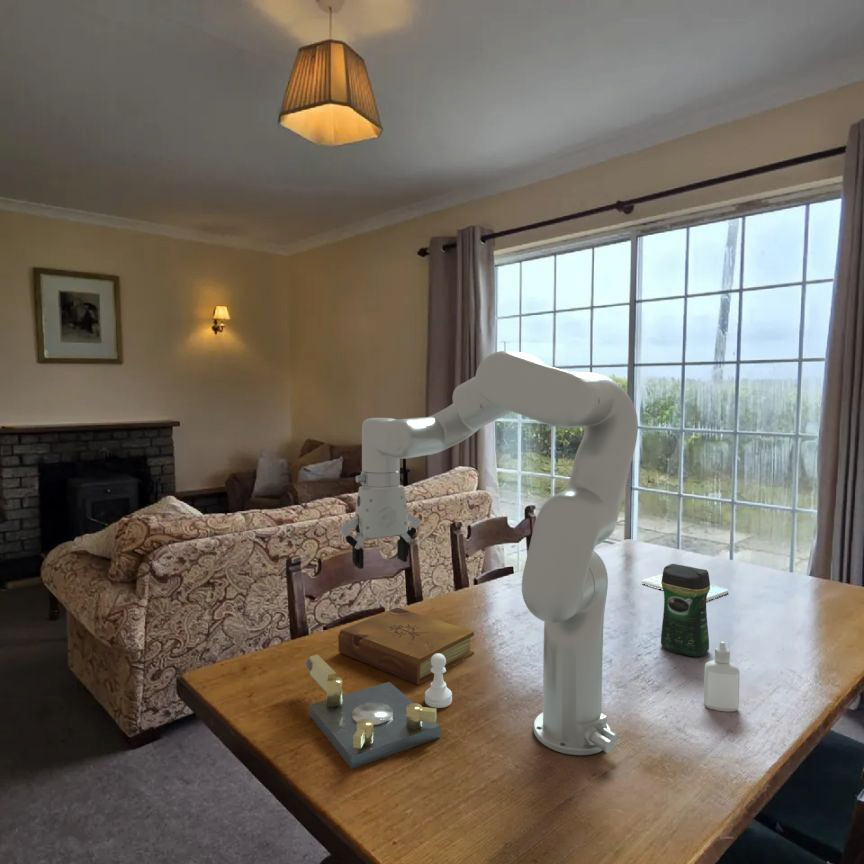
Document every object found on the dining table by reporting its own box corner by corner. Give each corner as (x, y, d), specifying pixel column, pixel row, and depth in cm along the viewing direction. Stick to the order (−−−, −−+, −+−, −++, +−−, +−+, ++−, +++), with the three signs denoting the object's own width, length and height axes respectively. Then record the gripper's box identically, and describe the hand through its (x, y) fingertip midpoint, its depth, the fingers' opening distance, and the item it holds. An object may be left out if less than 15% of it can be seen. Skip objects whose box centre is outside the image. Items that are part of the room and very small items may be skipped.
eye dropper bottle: (733, 717, 107) (735, 650, 106) (700, 706, 110) (702, 641, 109) (741, 707, 110) (743, 642, 109) (708, 697, 114) (710, 634, 113)
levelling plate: (441, 738, 100) (441, 709, 100) (352, 771, 92) (352, 739, 92) (389, 691, 116) (389, 666, 116) (309, 715, 108) (308, 688, 107)
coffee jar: (713, 650, 134) (715, 567, 133) (699, 661, 128) (701, 575, 127) (670, 637, 141) (671, 558, 139) (655, 648, 135) (656, 566, 134)
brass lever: (345, 703, 108) (344, 677, 107) (330, 708, 106) (329, 681, 106) (317, 674, 119) (317, 650, 118) (304, 678, 117) (303, 653, 117)
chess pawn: (420, 705, 111) (420, 657, 110) (430, 692, 116) (430, 646, 115) (446, 710, 109) (446, 661, 109) (455, 697, 114) (455, 650, 113)
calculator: (666, 577, 188) (666, 571, 187) (730, 595, 171) (730, 588, 171) (639, 585, 180) (640, 579, 180) (703, 604, 164) (703, 598, 163)
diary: (338, 656, 133) (338, 630, 133) (397, 630, 148) (397, 607, 147) (417, 688, 118) (417, 659, 118) (474, 656, 133) (474, 630, 132)
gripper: (347, 485, 114) (347, 575, 116) (427, 479, 123) (427, 562, 124) (333, 480, 121) (333, 564, 122) (410, 474, 129) (410, 553, 131)
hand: (380, 563), depth 123 cm, fingers open, 9 cm apart
